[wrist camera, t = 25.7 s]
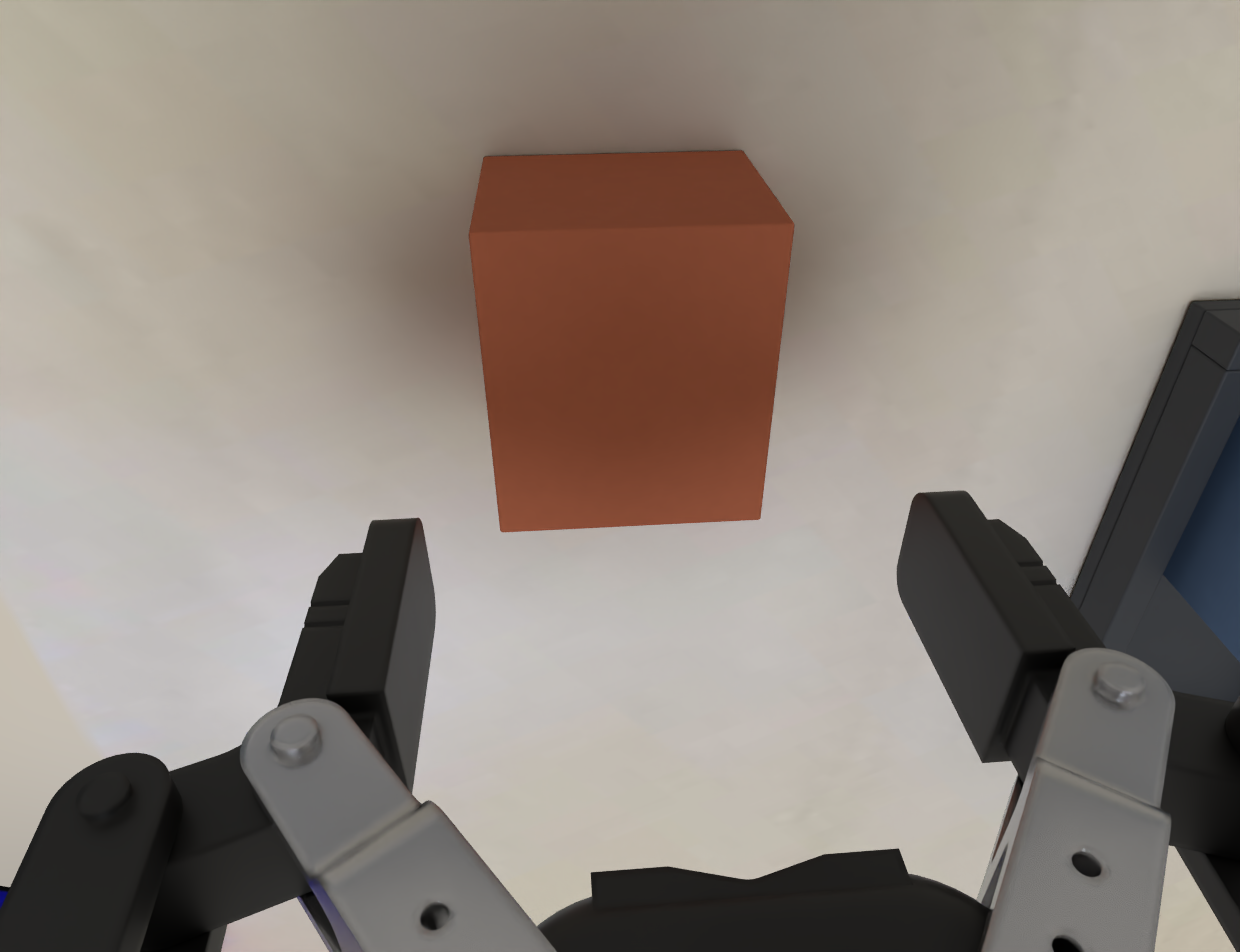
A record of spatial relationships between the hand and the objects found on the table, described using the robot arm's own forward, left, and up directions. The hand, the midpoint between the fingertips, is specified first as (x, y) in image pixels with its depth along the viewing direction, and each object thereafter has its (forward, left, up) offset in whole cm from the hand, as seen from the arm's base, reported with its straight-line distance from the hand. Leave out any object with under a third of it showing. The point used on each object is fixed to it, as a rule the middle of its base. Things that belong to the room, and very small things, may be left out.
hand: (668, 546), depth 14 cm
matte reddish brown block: (0, 0, -10) cm, 10 cm away
